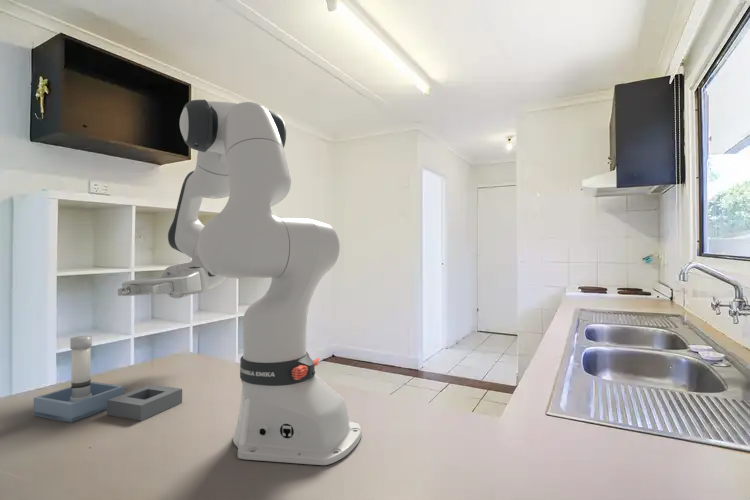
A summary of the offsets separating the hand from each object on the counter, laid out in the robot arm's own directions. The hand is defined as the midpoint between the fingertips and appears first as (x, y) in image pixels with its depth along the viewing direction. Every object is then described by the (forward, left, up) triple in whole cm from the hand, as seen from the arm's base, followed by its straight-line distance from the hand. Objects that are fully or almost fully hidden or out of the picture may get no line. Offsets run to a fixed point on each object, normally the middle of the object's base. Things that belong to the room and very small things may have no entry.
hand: (135, 291), depth 94 cm
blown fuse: (+2, +11, -23) cm, 25 cm away
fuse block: (-11, +7, -23) cm, 27 cm away
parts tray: (+2, +11, -23) cm, 26 cm away
